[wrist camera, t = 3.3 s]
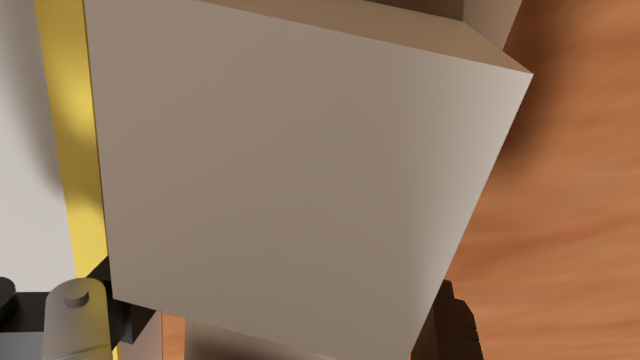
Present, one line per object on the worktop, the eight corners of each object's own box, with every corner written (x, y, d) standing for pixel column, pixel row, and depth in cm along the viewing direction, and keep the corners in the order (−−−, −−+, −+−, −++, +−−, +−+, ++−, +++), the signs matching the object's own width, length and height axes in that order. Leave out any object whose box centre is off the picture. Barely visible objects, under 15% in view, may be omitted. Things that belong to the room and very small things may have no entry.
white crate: (463, 20, 7) (532, 73, 3) (399, 214, 9) (401, 376, 5) (237, -27, 7) (81, -25, 4) (223, 171, 9) (113, 298, 5)
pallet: (474, -12, 10) (522, -1, 7) (337, 399, 19) (322, 510, 15) (268, -55, 11) (194, -69, 7) (225, 368, 19) (181, 469, 16)
